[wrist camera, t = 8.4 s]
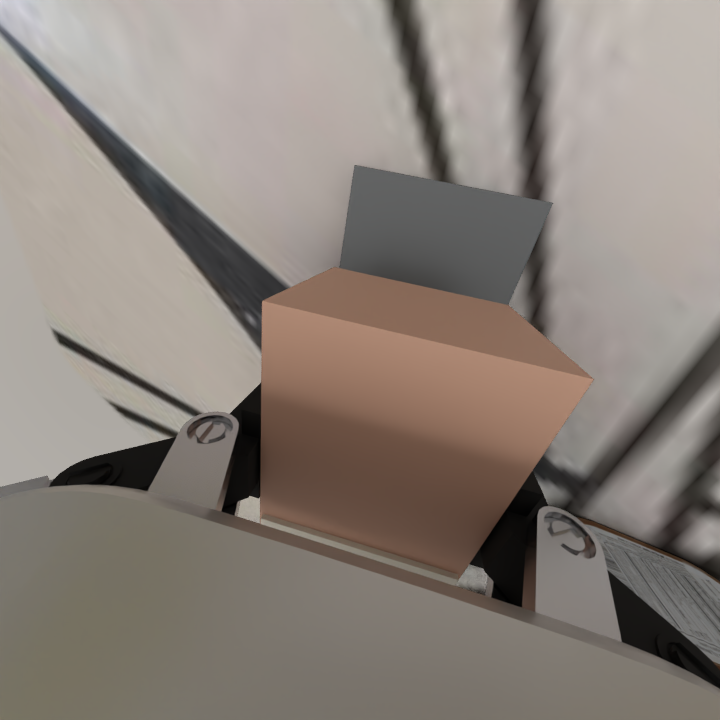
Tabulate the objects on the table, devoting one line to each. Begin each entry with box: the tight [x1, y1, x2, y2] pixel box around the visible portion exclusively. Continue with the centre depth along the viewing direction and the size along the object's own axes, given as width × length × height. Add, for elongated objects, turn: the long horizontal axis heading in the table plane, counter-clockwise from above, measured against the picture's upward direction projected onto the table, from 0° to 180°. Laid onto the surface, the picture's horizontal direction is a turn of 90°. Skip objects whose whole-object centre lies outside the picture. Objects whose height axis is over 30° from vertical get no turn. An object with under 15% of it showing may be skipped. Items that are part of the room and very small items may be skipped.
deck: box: [260, 267, 594, 586], centre depth 9 cm, size 6×9×5 cm, turn 170°
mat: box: [339, 165, 553, 305], centre depth 18 cm, size 18×10×1 cm, turn 169°
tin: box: [578, 518, 720, 670], centre depth 18 cm, size 15×3×8 cm, turn 71°
